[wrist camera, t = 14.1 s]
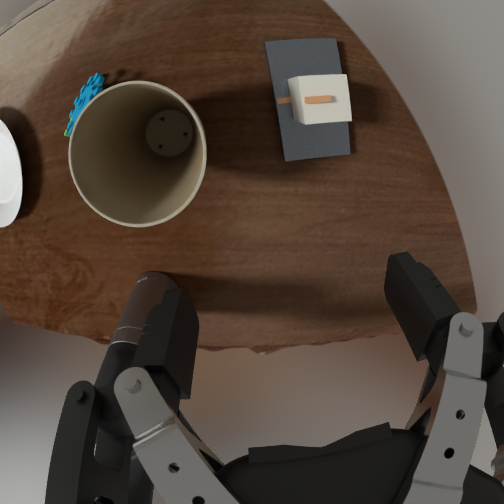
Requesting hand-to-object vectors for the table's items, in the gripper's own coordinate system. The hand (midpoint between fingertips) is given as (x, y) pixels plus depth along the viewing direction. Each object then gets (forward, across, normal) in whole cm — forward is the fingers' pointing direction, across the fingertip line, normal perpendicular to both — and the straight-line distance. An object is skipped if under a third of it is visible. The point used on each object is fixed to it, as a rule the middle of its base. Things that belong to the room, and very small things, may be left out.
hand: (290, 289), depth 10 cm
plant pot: (+32, +12, -4) cm, 35 cm away
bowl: (+32, +53, -12) cm, 63 cm away
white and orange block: (+30, -9, -6) cm, 32 cm away
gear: (+32, +23, -13) cm, 42 cm away
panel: (+32, -8, -6) cm, 34 cm away
